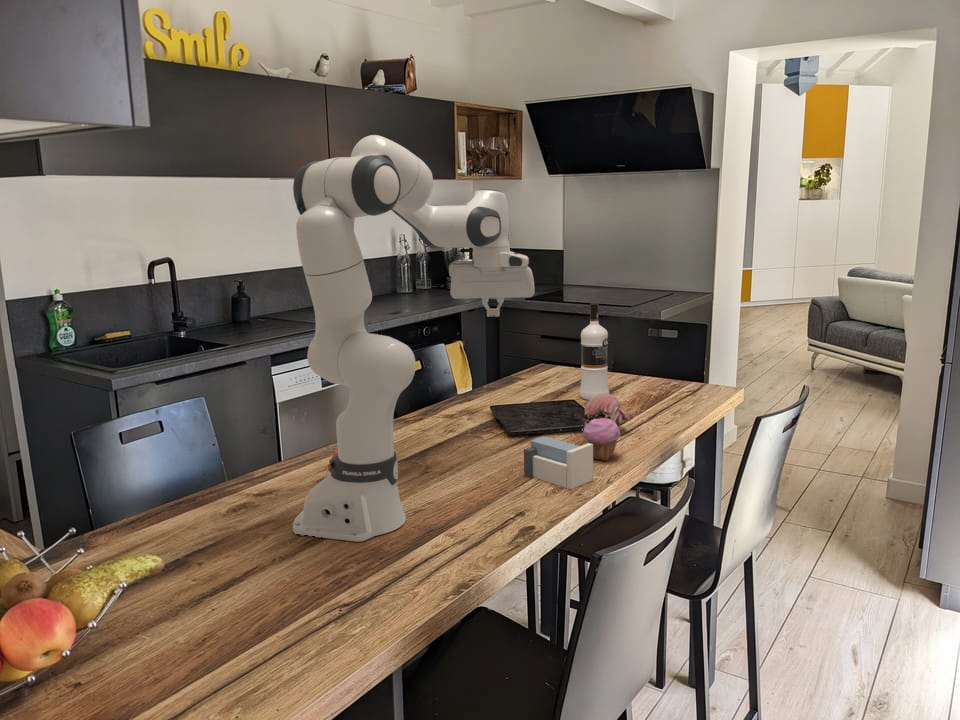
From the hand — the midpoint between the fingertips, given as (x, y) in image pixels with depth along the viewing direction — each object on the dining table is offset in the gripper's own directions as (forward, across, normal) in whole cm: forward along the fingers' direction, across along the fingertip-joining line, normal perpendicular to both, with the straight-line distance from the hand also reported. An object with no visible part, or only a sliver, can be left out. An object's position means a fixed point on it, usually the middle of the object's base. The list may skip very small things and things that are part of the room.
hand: (493, 316), depth 189 cm
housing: (+35, +16, -16) cm, 42 cm away
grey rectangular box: (+35, +15, -15) cm, 41 cm away
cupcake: (+35, +26, -2) cm, 44 cm away
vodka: (+35, +26, +55) cm, 70 cm away
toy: (+35, +28, +18) cm, 49 cm away
